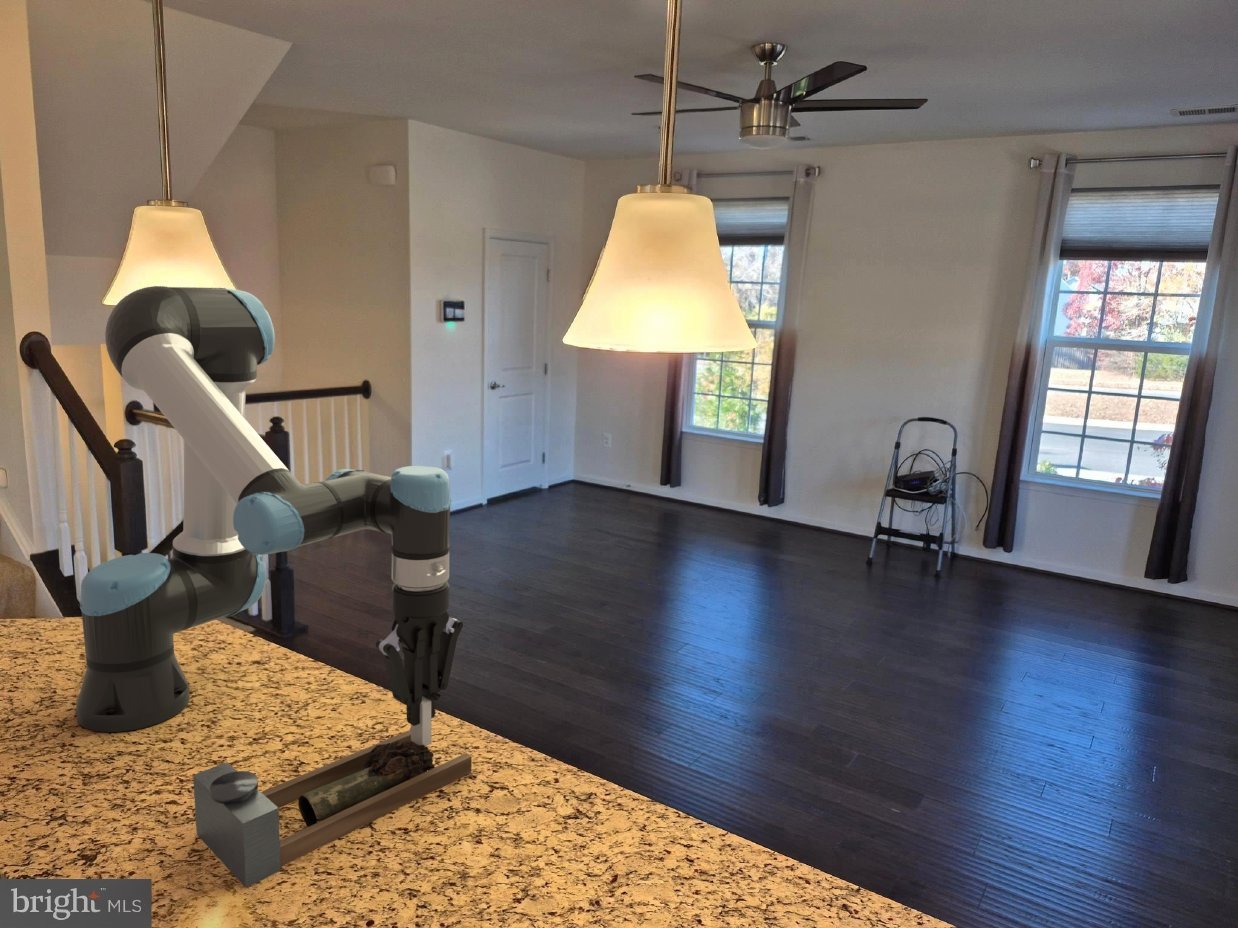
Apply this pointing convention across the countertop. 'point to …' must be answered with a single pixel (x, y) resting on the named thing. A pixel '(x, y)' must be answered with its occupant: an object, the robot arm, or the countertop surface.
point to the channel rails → (363, 811)
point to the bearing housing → (237, 822)
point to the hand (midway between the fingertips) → (421, 741)
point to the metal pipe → (367, 780)
